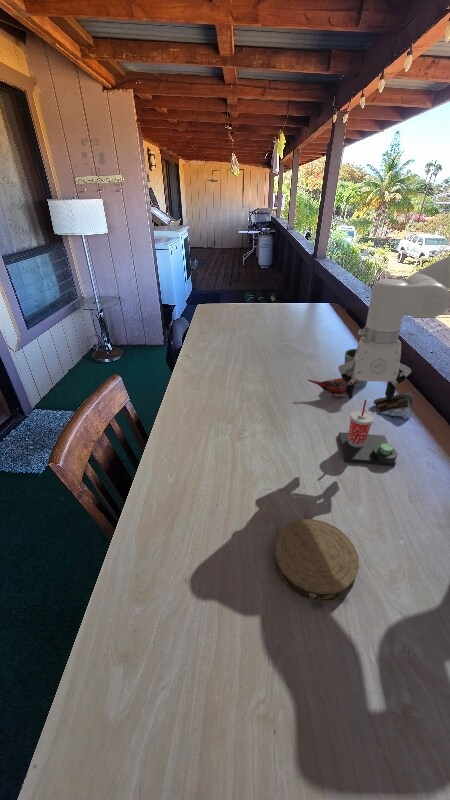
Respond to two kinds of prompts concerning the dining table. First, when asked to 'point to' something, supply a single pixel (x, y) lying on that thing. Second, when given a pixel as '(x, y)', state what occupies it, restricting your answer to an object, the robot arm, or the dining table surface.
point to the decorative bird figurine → (334, 386)
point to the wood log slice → (315, 560)
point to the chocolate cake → (396, 405)
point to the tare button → (385, 449)
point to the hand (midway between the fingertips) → (368, 396)
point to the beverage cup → (359, 427)
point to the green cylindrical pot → (350, 357)
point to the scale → (367, 451)
